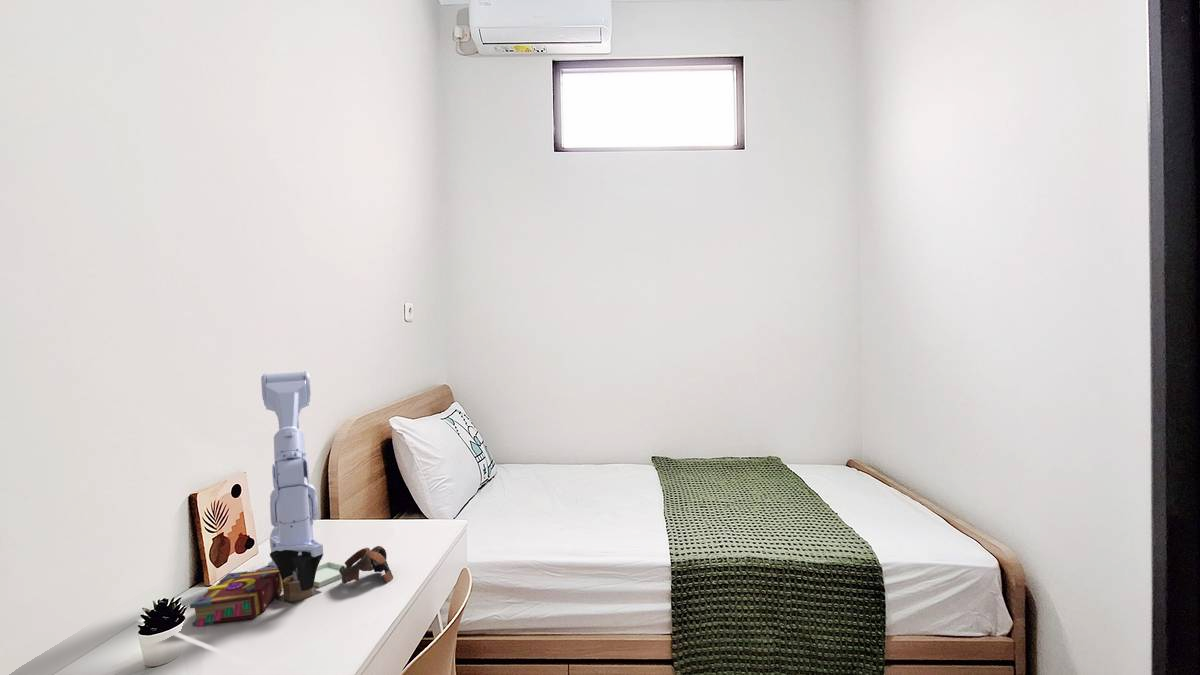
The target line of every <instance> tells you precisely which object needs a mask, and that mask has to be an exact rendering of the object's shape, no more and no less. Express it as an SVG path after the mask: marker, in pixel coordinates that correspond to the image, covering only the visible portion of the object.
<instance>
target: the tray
mask: <svg viewBox="0 0 1200 675" xmlns="http://www.w3.org/2000/svg"><path fill="white" fill-rule="evenodd" d="M342 566H344V567H345V568H346V567H347V566H346V565H345V563H340V562H336V561H331V560H329V561H326V562H323V563H321V564H320V563H319V565H318V567H317V571H316V575H315V580H314V588H322V587H325V586H327V585H330V584H332V583H335V582H336V581H337V582H338V581H339V580H342V575H341V574H340V573H339V570H340V568H341V567H342Z"/></svg>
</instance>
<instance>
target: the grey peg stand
mask: <svg viewBox="0 0 1200 675" xmlns="http://www.w3.org/2000/svg"><path fill="white" fill-rule="evenodd" d="M292 575H293V581H299V574H298V571H297V569H295V570H293V571H292ZM322 593H323V591H320V590H316V589H314V592H313V594H312V596H309V597H307V598H305V599H302V600H295V601H288V600H285V599H284V595H283V594H280V595H279V596H278V597H277V598H273V600H274V599H275V600H277V601H280V602H284V603H287V604H291V605H296V604H298V603H300V602H302V601H304V600H305V601H306V600H307V599H309V598H312V597H315V596H317V595H319V594H322Z"/></svg>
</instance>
